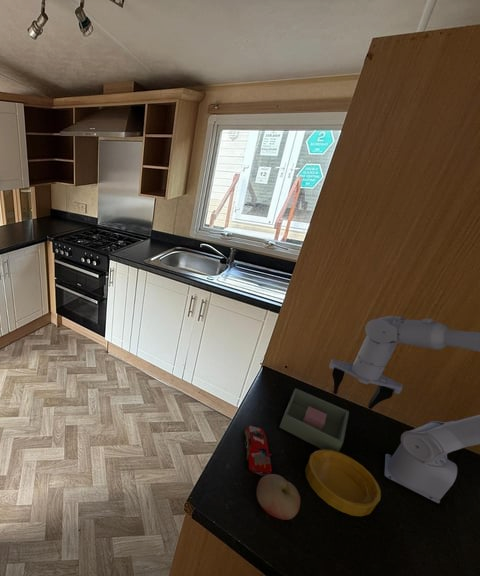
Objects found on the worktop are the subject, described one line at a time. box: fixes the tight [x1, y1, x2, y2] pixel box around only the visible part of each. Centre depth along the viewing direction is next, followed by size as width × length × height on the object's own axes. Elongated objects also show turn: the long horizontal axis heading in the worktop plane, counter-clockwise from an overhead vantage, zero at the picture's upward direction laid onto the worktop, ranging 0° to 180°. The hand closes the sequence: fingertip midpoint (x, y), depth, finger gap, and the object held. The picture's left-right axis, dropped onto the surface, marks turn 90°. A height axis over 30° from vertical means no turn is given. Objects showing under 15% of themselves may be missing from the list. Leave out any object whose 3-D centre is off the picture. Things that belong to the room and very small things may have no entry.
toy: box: [302, 406, 327, 431], centre depth 86 cm, size 4×4×4 cm
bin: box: [279, 387, 350, 452], centre depth 86 cm, size 13×13×6 cm
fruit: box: [256, 473, 301, 521], centre depth 67 cm, size 8×8×8 cm
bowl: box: [304, 449, 382, 517], centre depth 72 cm, size 13×13×4 cm
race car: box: [243, 425, 273, 477], centre depth 79 cm, size 13×5×4 cm, turn 161°
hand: (352, 399), depth 85 cm, fingers open, 7 cm apart
